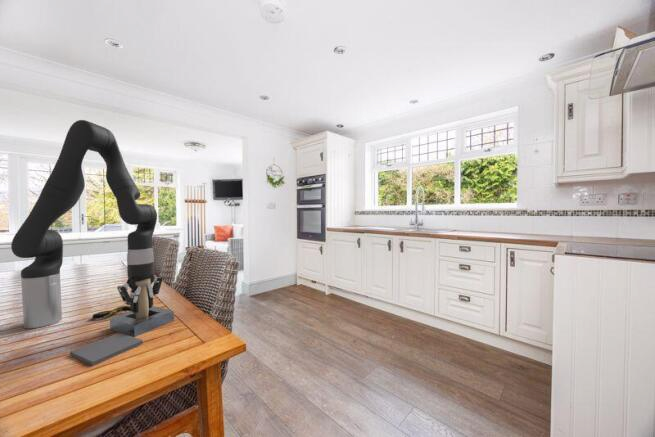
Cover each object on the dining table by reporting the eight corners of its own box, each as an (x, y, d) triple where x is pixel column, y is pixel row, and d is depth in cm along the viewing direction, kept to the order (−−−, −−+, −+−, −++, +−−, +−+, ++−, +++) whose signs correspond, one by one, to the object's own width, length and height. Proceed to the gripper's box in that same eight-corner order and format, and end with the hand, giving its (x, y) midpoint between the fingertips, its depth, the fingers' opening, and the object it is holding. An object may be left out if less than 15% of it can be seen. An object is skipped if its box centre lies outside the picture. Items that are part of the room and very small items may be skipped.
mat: (70, 355, 71) (70, 351, 71) (120, 335, 82) (119, 332, 82) (92, 365, 66) (92, 361, 66) (142, 343, 77) (142, 340, 77)
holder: (110, 328, 87) (109, 318, 87) (150, 314, 99) (149, 305, 99) (134, 336, 81) (134, 325, 81) (174, 320, 93) (173, 310, 93)
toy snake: (91, 308, 93) (94, 302, 101) (91, 321, 92) (94, 314, 100) (151, 299, 104) (150, 295, 112) (151, 310, 103) (150, 305, 111)
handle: (135, 327, 86) (134, 282, 86) (132, 321, 91) (131, 279, 90) (152, 322, 90) (151, 279, 89) (148, 317, 94) (147, 276, 94)
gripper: (155, 257, 97) (156, 302, 98) (110, 264, 85) (112, 316, 85) (167, 258, 94) (168, 305, 95) (123, 266, 81) (125, 320, 82)
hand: (142, 309), depth 90 cm, fingers closed on handle, 4 cm apart
